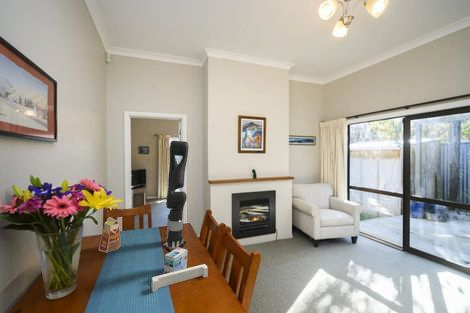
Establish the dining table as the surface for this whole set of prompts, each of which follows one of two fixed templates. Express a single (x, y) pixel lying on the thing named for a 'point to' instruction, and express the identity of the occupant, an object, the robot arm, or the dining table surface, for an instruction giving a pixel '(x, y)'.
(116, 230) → the milk carton
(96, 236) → the dining table surface
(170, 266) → the light bulb box
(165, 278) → the board
